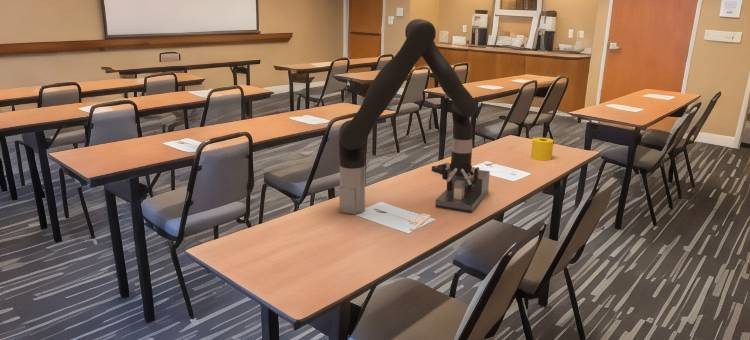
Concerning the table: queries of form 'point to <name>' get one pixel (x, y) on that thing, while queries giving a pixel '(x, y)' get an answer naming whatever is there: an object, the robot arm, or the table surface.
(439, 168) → the disk drive
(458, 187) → the plug
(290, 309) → the table surface
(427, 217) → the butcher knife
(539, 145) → the tape roll
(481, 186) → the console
